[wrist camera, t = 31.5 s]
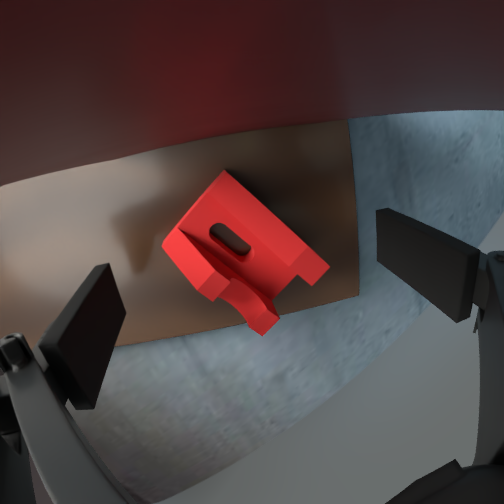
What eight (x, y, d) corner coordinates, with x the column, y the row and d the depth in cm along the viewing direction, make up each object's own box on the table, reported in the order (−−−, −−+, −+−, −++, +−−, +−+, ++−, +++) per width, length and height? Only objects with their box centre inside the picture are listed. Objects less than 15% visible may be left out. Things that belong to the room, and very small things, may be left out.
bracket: (310, 247, 18) (330, 266, 15) (252, 307, 19) (262, 336, 16) (224, 169, 16) (229, 175, 13) (163, 240, 16) (157, 260, 14)
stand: (353, 288, 20) (359, 295, 20) (-21, 354, 18) (-26, 360, 17) (322, 23, 15) (328, 17, 14) (-85, 154, 12) (-93, 156, 11)
